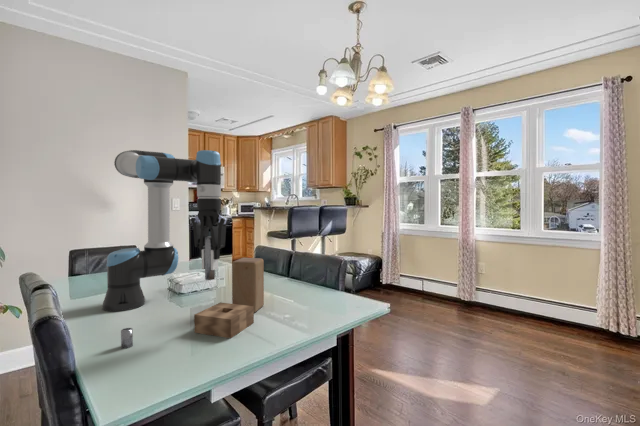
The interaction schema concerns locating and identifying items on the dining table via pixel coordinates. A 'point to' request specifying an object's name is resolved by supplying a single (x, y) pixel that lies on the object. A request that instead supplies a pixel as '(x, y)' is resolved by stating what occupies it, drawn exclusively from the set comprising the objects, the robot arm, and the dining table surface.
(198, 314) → the socket block
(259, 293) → the wooden block
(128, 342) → the short pin
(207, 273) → the long pin
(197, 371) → the dining table surface
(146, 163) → the robot arm
